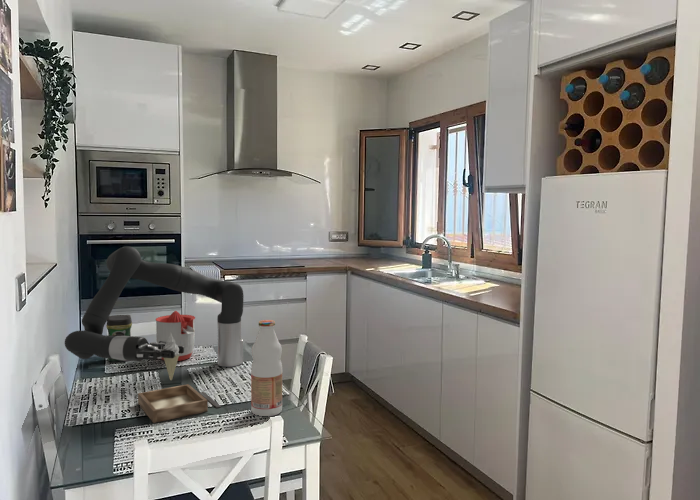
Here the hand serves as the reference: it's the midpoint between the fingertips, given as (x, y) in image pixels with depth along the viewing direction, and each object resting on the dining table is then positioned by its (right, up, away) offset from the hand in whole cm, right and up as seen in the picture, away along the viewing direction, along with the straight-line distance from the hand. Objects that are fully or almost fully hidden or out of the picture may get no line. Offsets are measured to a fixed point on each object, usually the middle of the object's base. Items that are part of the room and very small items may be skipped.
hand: (178, 352), depth 160 cm
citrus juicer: (-19, -14, +56) cm, 61 cm away
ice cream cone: (-3, -9, +1) cm, 10 cm away
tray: (-1, -18, +3) cm, 18 cm away
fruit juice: (+27, -18, 0) cm, 33 cm away
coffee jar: (-42, -14, +53) cm, 69 cm away
